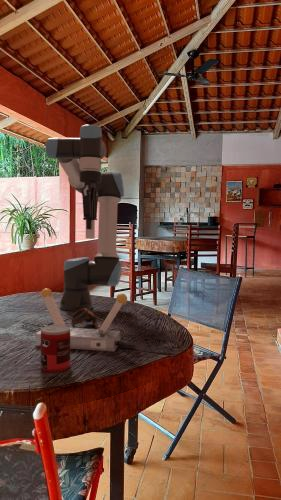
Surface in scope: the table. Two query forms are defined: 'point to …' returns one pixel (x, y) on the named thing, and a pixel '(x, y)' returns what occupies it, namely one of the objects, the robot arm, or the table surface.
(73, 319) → the pottery mug
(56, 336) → the canned food
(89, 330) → the switch box
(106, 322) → the toggle
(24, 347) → the table surface
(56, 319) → the toggle
